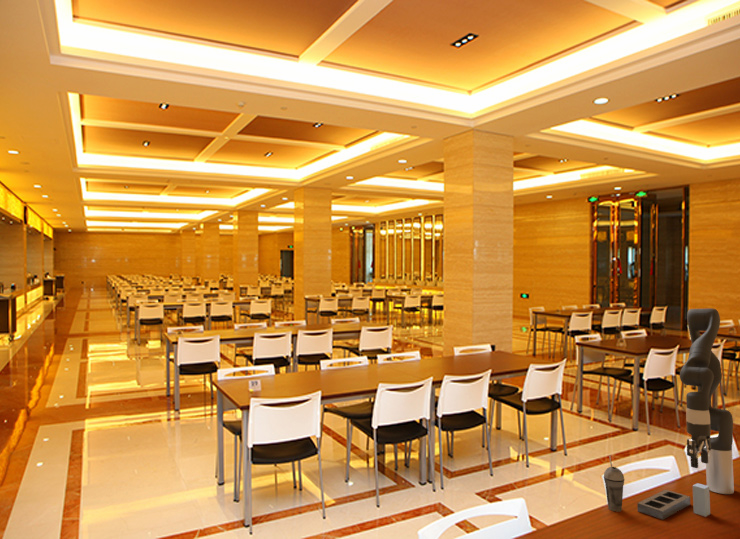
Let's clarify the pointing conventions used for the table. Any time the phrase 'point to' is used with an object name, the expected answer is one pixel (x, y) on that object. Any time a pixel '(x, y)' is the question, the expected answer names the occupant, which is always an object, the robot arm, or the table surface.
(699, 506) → the peg
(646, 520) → the table surface
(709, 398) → the robot arm
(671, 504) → the grey slotted block
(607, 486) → the beverage cup
